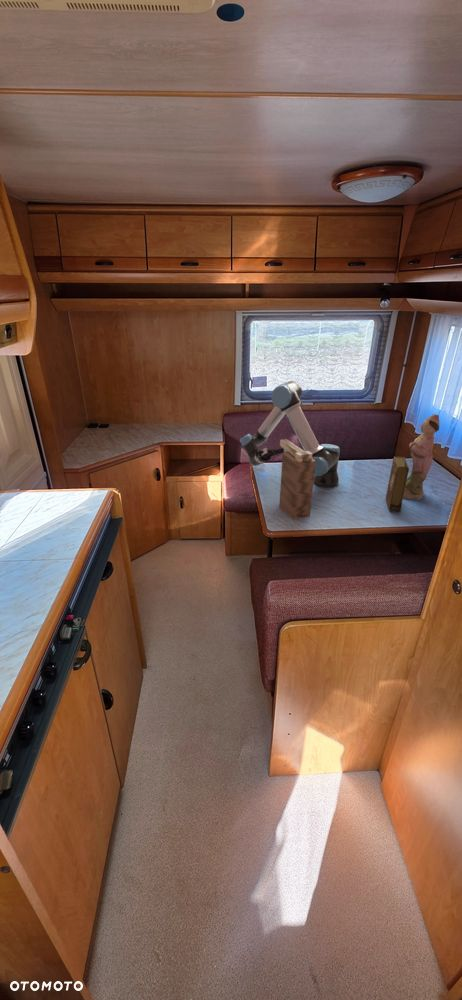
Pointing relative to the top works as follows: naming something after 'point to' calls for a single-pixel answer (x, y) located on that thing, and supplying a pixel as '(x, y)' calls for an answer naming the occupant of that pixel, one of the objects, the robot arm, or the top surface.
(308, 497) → the walnut stand
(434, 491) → the top surface
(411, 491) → the statue
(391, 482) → the book
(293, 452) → the birch bar
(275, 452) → the robot arm
